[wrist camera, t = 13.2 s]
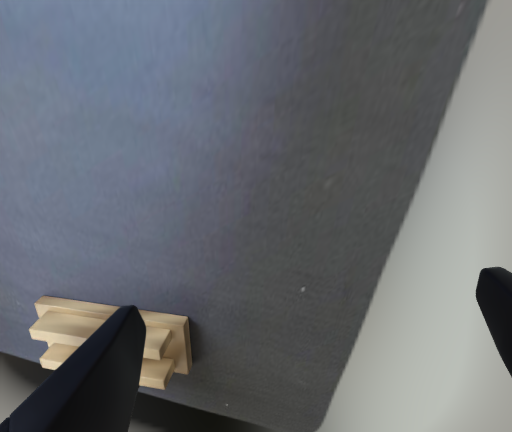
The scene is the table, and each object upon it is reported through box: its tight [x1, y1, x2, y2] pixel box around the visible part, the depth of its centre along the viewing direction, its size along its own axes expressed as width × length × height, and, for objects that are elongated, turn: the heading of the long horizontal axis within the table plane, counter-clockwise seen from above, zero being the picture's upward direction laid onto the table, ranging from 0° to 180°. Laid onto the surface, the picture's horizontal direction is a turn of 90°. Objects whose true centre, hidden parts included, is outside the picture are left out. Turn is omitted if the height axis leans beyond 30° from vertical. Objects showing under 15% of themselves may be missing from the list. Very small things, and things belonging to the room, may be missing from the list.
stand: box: [29, 296, 192, 390], centre depth 28 cm, size 12×5×3 cm, turn 90°
